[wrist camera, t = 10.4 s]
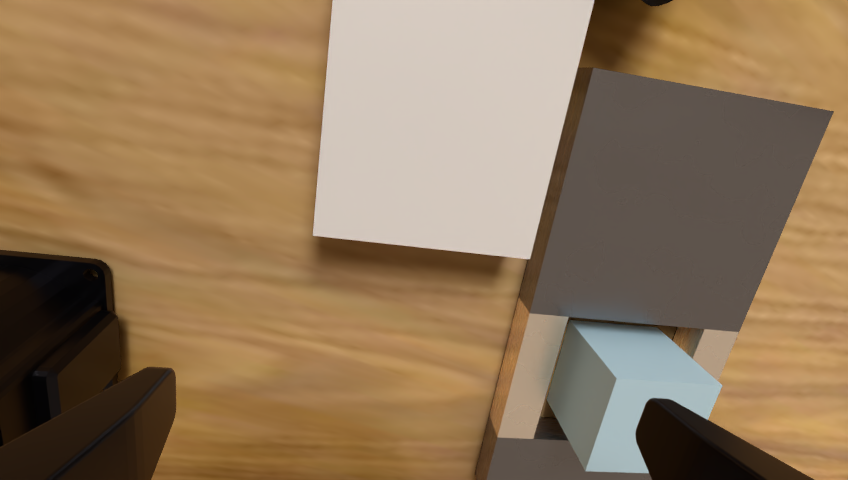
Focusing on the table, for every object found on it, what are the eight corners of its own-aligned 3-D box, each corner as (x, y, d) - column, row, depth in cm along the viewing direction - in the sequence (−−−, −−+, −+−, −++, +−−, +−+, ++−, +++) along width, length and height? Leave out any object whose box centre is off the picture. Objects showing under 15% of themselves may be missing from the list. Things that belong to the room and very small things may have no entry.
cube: (545, 398, 23) (585, 471, 19) (568, 318, 22) (616, 378, 17) (628, 403, 24) (684, 474, 20) (655, 326, 22) (722, 385, 18)
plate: (475, 473, 24) (481, 498, 23) (575, 67, 18) (593, 67, 16) (649, 479, 26) (665, 502, 24) (799, 108, 19) (833, 111, 18)
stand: (319, 214, 19) (312, 235, 16) (345, -74, 15) (340, -100, 13) (510, 237, 20) (530, 259, 17) (571, -26, 17) (604, -42, 14)
